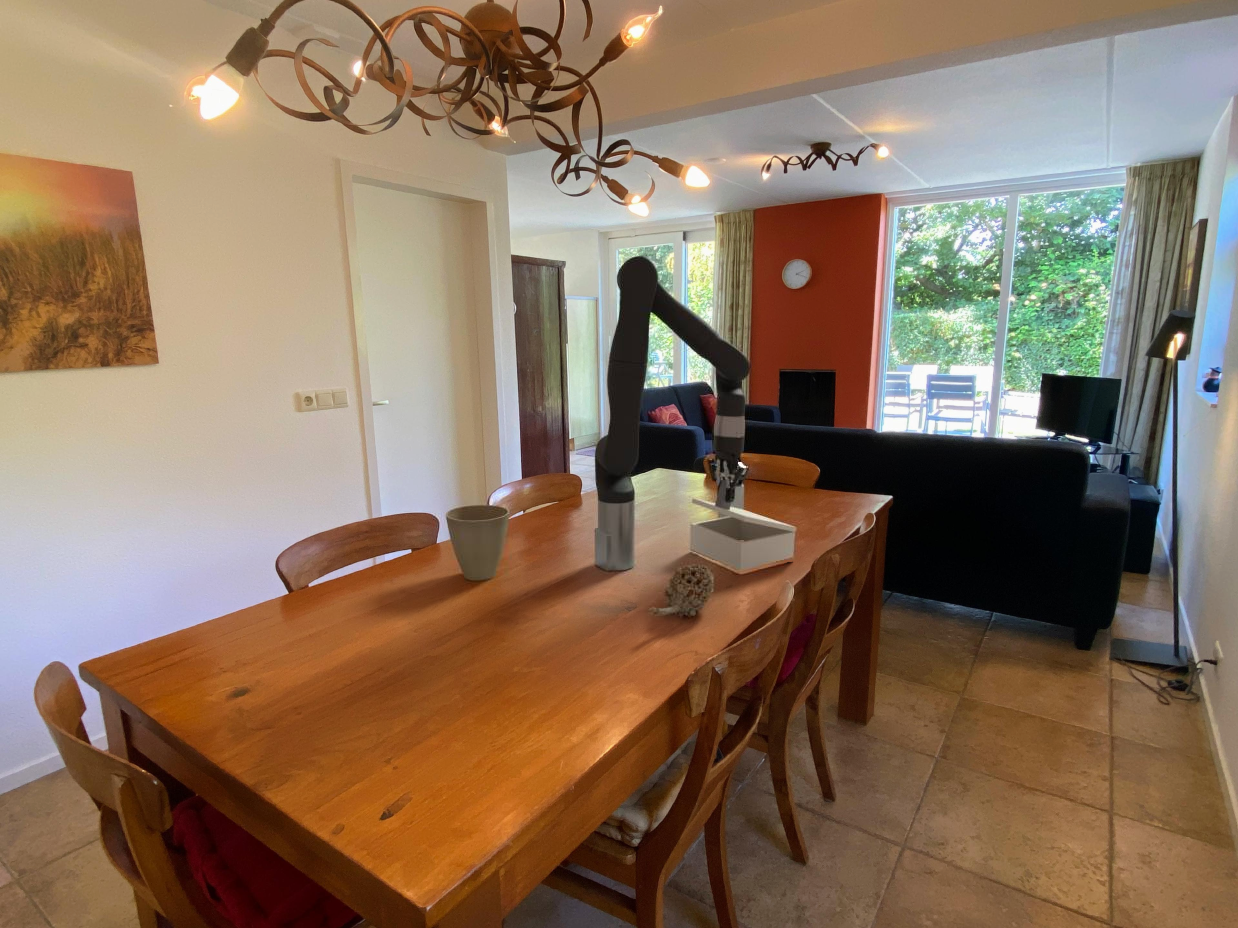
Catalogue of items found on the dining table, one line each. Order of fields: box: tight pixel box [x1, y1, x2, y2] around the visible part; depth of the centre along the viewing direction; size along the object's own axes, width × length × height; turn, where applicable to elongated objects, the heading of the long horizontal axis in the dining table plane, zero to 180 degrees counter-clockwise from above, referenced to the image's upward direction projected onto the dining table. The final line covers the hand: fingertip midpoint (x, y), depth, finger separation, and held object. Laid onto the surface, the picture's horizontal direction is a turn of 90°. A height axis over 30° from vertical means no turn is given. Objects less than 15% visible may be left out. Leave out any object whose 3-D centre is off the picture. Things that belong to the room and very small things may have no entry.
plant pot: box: [445, 504, 510, 582], centre depth 158 cm, size 15×15×16 cm
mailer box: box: [689, 516, 796, 571], centre depth 171 cm, size 18×20×8 cm
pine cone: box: [648, 563, 715, 618], centre depth 134 cm, size 22×10×10 cm, turn 150°
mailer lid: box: [691, 478, 798, 533], centre depth 170 cm, size 18×20×8 cm
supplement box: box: [717, 480, 745, 519], centre depth 202 cm, size 7×7×13 cm
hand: (725, 500), depth 166 cm, fingers closed on mailer lid, 2 cm apart
